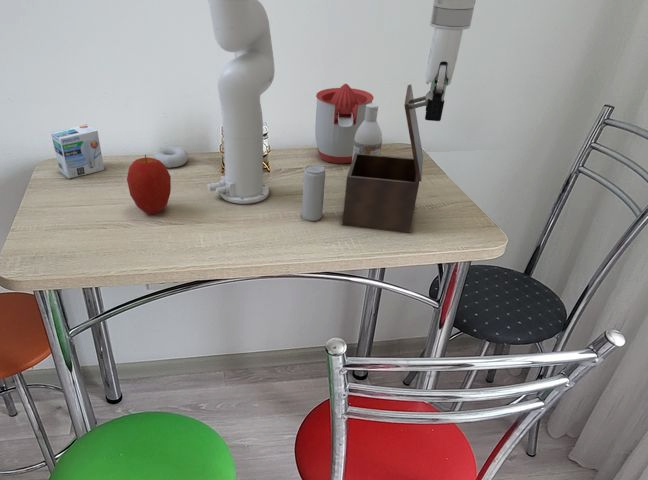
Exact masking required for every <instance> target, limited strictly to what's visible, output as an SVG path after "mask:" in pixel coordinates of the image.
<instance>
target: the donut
mask: <svg viewBox="0 0 648 480" xmlns="http://www.w3.org/2000/svg"><path fill="white" fill-rule="evenodd" d="M152 158H154V159H157V160H159V161H160V162H162V163H163V164H164V165H165V166H166V168H169V169H171V168H178V167H181V166H183V165H185V164H186V163H187V162H188V161H189V153H188V151H187V150H186V149H185V148H183V147H180V146H174V145H168V146H162V147H160V148H157V149H156V150H155V151H154V152H153V154H152Z"/></svg>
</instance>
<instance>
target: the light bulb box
mask: <svg viewBox="0 0 648 480" xmlns="http://www.w3.org/2000/svg"><path fill="white" fill-rule="evenodd" d="M50 134H51V139H52V143H53V149H54V152H55V157H56V160H57V165H58V171H59V172H60V173H61V174H63V175H64V176H65V177H66V178H67V179H70V180H71V179H75V178H78V177H82V176H85V175H89V174H93V173H97V172H102V171H104V170H105V166H104V161H103V160H104V159H103V154H102V148H101V144H100V138H99V131H98V129H95V128H94V127H92V126H91V125H88V124H83V125H77V126H73V127H67V128H64V129H60V130H55V131H51V132H50Z"/></svg>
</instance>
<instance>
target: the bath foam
mask: <svg viewBox="0 0 648 480" xmlns="http://www.w3.org/2000/svg"><path fill="white" fill-rule="evenodd" d="M378 112H379V105H378V104H377V103H373V102H372V103H371V104H367V105H366V112H365V120H364V121H363V123H362V124H361V125H360V126H359V128H358V130H357V132H356V134H355V139H354V147H353V157H354V154H355V153H360V154H371V155H381V151H382V143H383V134H382V130H381V126H380V124H379V122H378V121H377V118H378ZM353 157H352V160H353Z"/></svg>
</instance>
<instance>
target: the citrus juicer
mask: <svg viewBox="0 0 648 480" xmlns="http://www.w3.org/2000/svg"><path fill="white" fill-rule="evenodd" d="M315 97H316V105H315V106H316V108H315V122H314V123H315V125H314V135H315V136H314V137H315V144H316V148H317V152H318V155H319V157H320V159H322V160H324V161H325V162H327V163H333V164H349V163H352V157H353V147H354V139H355V134H356V132H357V130H358V128H359V126H360V125H361V124H362V123H363V121H364V120H365V112H366V105H367V104H371V103H372V104H373V101H374V98H375V97H374V95H373V94H372V93H371V92H369V91H366V90H363V89H358V88H353V87H351V86H350V85H349V84H348V83H343V85H341V86H340V87H331V88H325V89H322V90H320V91H318V92H317V93H316V96H315Z"/></svg>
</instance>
